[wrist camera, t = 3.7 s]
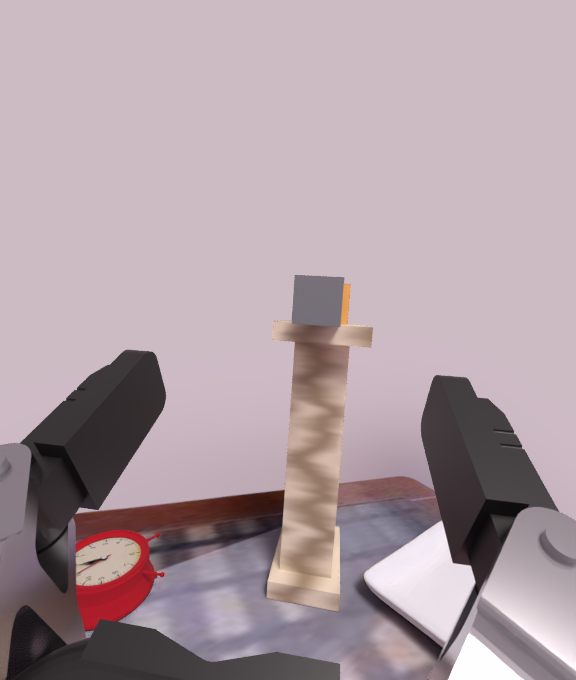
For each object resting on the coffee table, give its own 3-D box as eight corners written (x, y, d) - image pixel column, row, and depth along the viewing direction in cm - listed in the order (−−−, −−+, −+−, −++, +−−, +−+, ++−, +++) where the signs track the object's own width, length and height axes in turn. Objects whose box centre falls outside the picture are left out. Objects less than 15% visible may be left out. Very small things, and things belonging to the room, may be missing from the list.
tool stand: (255, 603, 37) (273, 320, 35) (278, 526, 51) (291, 320, 48) (348, 621, 35) (372, 327, 33) (345, 536, 49) (362, 325, 47)
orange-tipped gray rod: (277, 322, 24) (282, 253, 24) (307, 321, 48) (309, 286, 48) (354, 328, 24) (360, 256, 23) (346, 324, 47) (349, 288, 47)
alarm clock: (170, 577, 35) (-8, 587, 29) (153, 637, 35) (-30, 659, 29) (161, 520, 45) (26, 518, 38) (148, 567, 44) (9, 572, 38)
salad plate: (355, 600, 39) (358, 571, 38) (445, 534, 52) (447, 513, 52) (607, 823, 22) (613, 775, 22) (643, 643, 35) (648, 612, 35)
